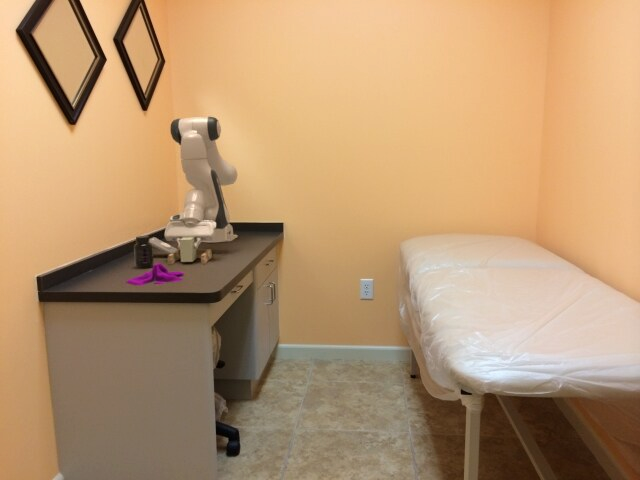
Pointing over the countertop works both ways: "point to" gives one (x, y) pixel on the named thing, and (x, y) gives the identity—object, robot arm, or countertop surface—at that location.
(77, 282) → the countertop surface
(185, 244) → the pale olive cuboid
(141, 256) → the supplement bottle
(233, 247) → the countertop surface
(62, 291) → the countertop surface
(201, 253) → the wooden frame
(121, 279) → the countertop surface
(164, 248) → the light switch
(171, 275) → the cloth
